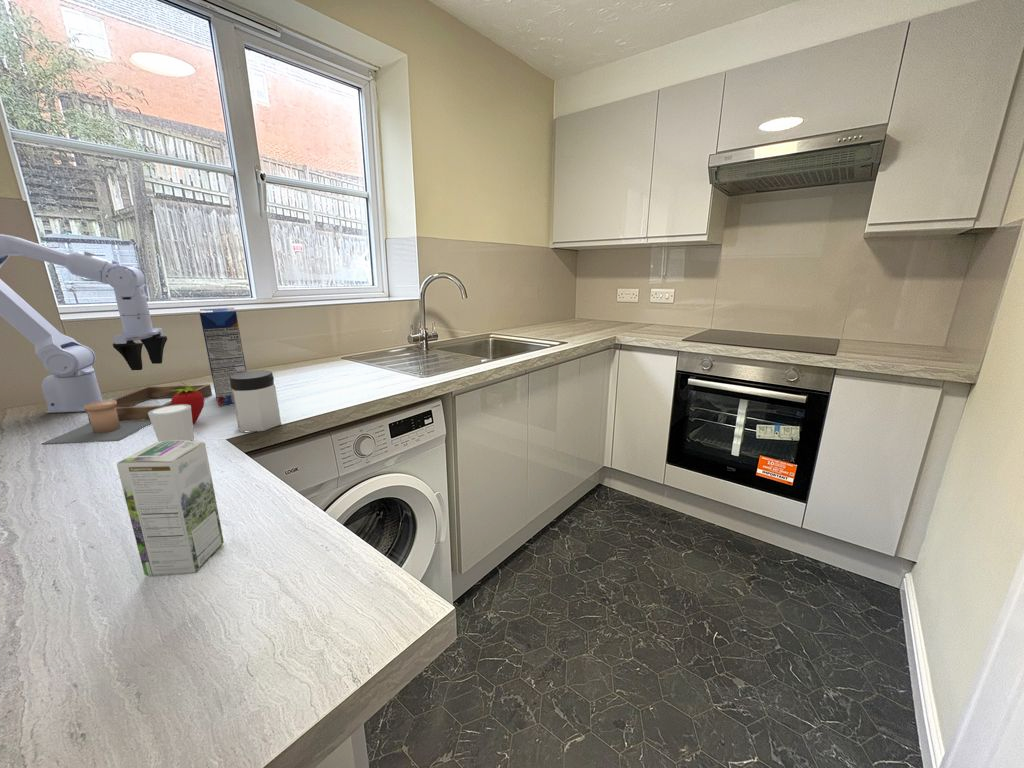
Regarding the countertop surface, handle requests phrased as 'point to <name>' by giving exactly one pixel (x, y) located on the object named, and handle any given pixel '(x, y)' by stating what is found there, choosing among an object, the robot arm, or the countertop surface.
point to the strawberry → (189, 400)
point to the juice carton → (223, 349)
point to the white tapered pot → (172, 422)
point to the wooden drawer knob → (103, 416)
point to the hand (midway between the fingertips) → (147, 366)
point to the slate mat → (87, 433)
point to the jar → (255, 400)
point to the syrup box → (172, 506)
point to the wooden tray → (145, 393)
